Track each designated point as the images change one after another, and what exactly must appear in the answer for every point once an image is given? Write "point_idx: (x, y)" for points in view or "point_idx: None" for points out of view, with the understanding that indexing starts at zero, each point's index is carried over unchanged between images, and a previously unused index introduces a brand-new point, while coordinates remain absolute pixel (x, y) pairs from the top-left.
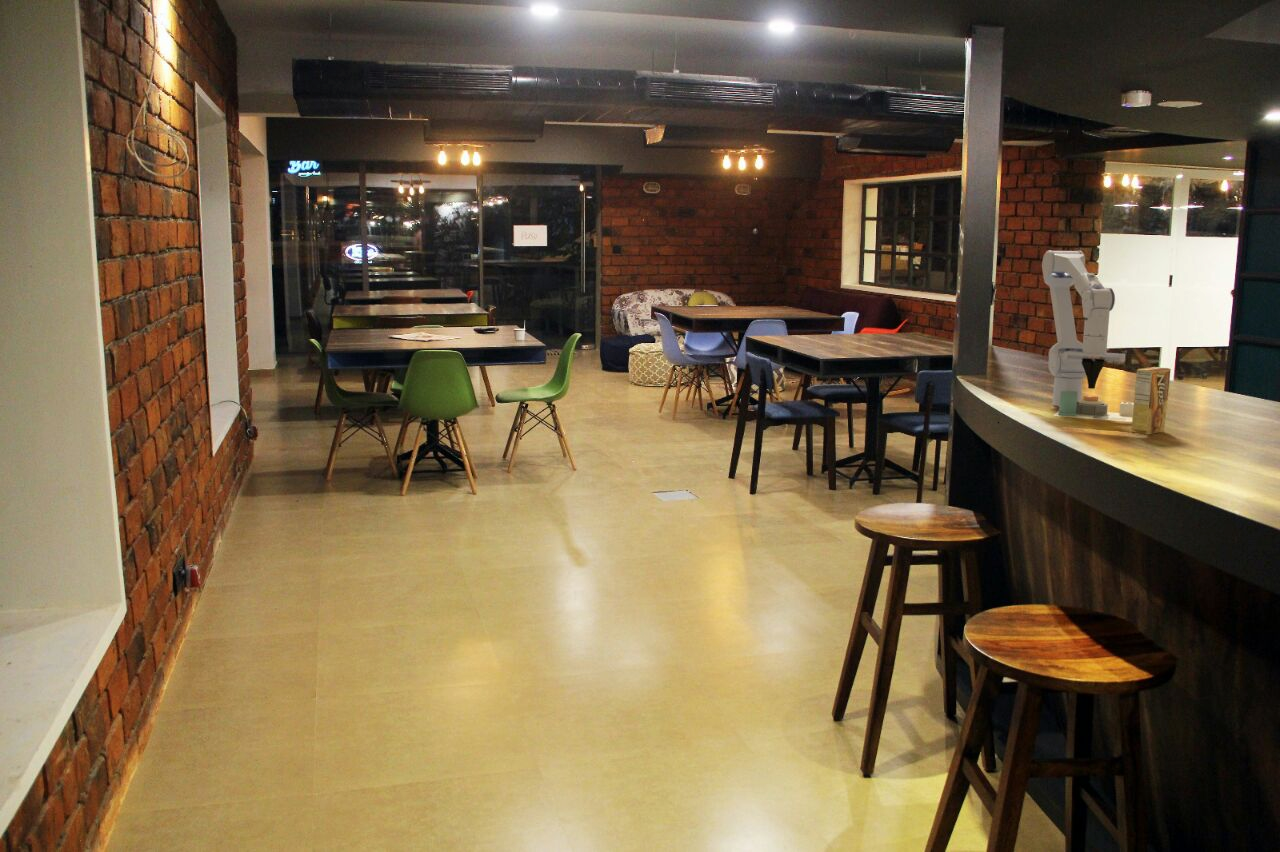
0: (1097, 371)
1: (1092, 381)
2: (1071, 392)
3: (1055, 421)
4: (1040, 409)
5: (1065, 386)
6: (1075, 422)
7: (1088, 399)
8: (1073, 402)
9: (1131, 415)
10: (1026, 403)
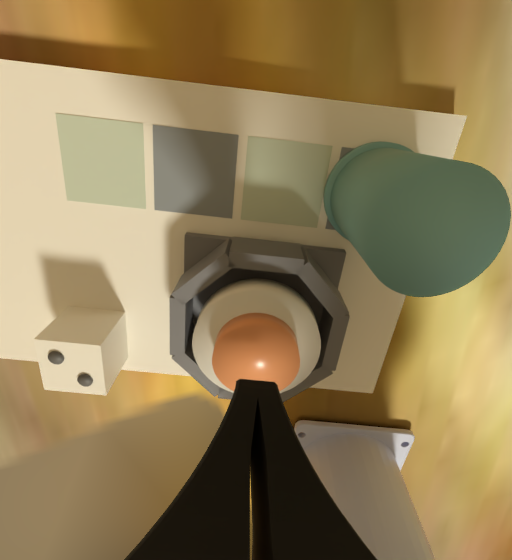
0: (192, 502)
1: (248, 415)
2: (423, 183)
3: (447, 44)
4: (443, 422)
5: (388, 535)
6: (329, 61)
7: (268, 319)
8: (371, 169)
9: (69, 307)
10: (466, 521)
